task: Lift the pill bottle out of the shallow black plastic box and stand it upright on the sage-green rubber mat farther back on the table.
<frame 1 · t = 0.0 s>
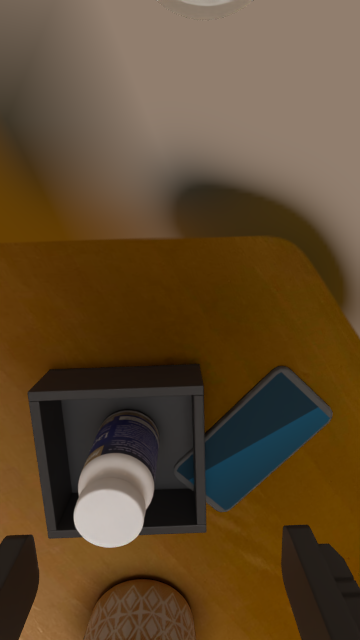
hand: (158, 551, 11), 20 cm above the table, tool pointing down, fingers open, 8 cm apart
pill bottle: (129, 434, 32), resting on black box
black box: (129, 433, 32), on the table
planter: (143, 612, 37), on the table
smartphone: (249, 437, 33), on the table
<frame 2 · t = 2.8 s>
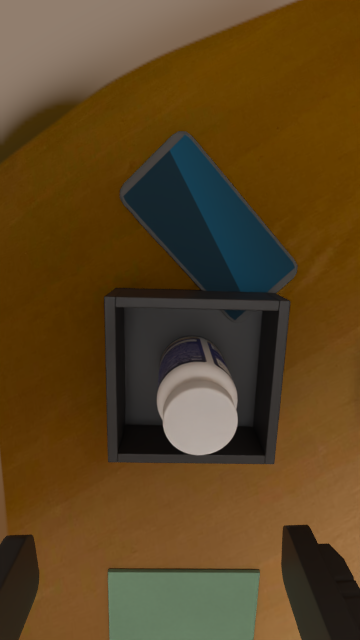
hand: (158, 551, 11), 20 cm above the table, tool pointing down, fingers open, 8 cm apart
pill bottle: (191, 364, 30), resting on black box
black box: (191, 364, 31), on the table
smartphone: (209, 233, 29), on the table
mat: (182, 613, 37), on the table
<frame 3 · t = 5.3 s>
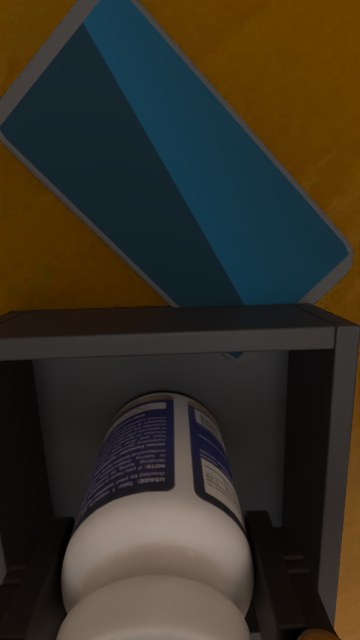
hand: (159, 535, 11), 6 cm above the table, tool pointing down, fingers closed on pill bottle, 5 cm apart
pill bottle: (164, 439, 17), resting on black box, touching gripper
black box: (164, 438, 17), on the table
smartphone: (180, 196, 15), on the table
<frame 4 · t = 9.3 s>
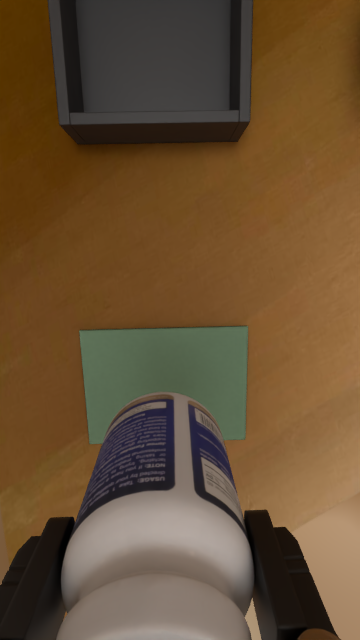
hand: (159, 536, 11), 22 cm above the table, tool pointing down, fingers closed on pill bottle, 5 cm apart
pill bottle: (164, 438, 17), point 16 cm above the table, touching gripper
black box: (155, 50, 27), on the table
mat: (165, 385, 33), on the table
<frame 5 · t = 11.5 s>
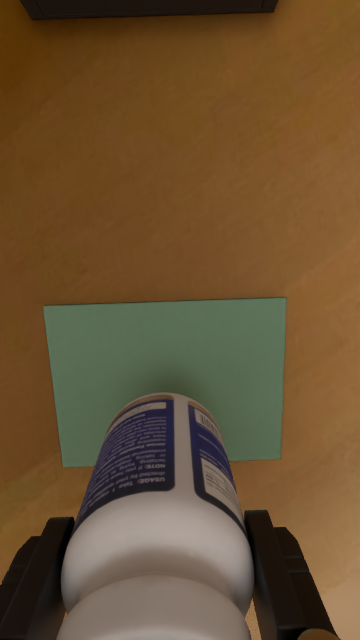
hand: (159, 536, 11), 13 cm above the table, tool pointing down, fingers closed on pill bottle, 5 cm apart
pill bottle: (164, 439, 17), point 7 cm above the table, touching gripper
mat: (168, 384, 24), on the table
when the fingers open (6 cm above the table, at t = 13.6 s): pill bottle stays where it is, resting on mat.
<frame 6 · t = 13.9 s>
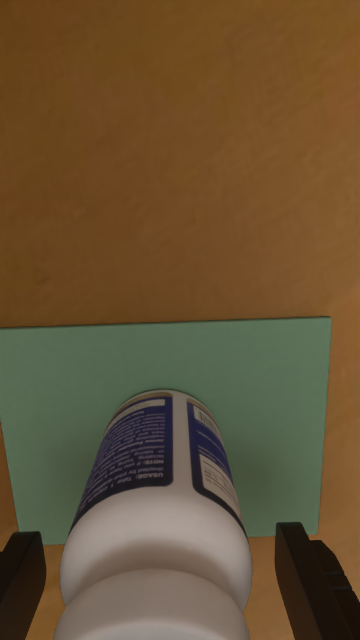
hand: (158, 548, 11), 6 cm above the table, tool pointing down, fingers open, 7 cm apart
pill bottle: (164, 436, 17), resting on mat
mat: (165, 436, 17), on the table
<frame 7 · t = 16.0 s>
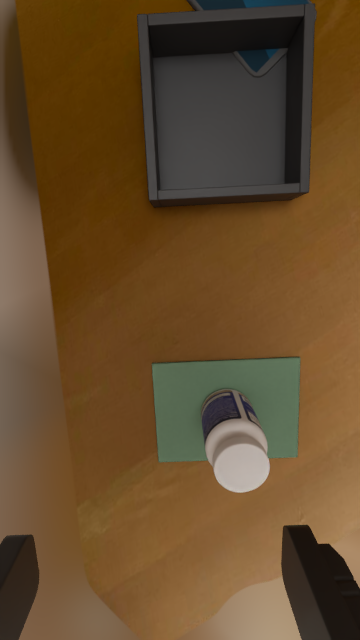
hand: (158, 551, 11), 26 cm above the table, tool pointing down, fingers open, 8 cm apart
pill bottle: (226, 410, 38), resting on mat
black box: (220, 128, 32), on the table
mat: (226, 410, 38), on the table
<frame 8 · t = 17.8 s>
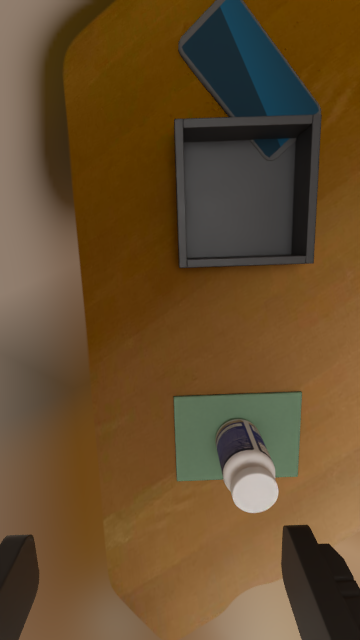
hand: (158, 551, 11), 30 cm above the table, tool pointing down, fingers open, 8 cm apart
pill bottle: (237, 436, 43), resting on mat
black box: (238, 200, 37), on the table
smartphone: (249, 84, 35), on the table
mat: (237, 436, 43), on the table
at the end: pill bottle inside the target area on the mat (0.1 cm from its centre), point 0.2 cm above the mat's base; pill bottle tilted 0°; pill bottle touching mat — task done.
